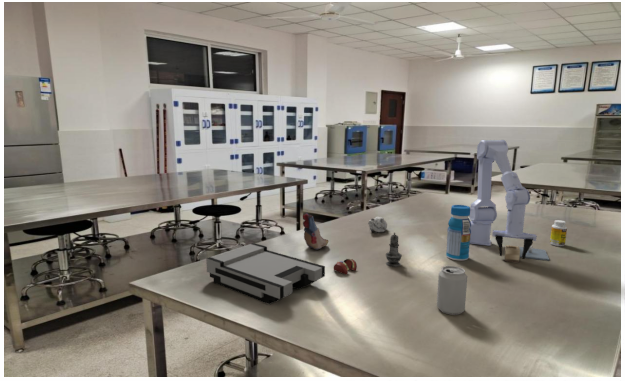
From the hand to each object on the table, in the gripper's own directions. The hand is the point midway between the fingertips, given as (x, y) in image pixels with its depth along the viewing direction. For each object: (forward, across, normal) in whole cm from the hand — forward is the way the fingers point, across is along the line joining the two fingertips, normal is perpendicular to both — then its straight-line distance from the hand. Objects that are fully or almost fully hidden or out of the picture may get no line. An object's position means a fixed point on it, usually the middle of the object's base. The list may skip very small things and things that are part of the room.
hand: (511, 256), depth 151 cm
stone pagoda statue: (+2, -40, -22) cm, 46 cm away
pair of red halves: (+2, -54, -35) cm, 64 cm away
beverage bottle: (+2, -19, -5) cm, 20 cm away
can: (+2, -18, -51) cm, 54 cm away
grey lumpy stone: (+2, -56, +18) cm, 59 cm away
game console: (+2, -74, -56) cm, 93 cm away
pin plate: (+1, +7, +11) cm, 13 cm away
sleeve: (+1, 0, 0) cm, 1 cm away
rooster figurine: (+2, -73, -16) cm, 75 cm away
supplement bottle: (+2, +19, +29) cm, 35 cm away
